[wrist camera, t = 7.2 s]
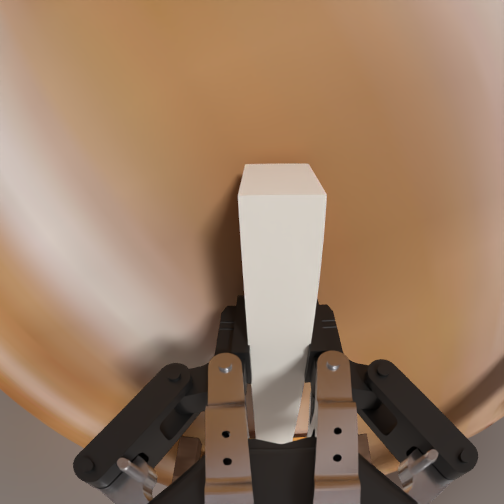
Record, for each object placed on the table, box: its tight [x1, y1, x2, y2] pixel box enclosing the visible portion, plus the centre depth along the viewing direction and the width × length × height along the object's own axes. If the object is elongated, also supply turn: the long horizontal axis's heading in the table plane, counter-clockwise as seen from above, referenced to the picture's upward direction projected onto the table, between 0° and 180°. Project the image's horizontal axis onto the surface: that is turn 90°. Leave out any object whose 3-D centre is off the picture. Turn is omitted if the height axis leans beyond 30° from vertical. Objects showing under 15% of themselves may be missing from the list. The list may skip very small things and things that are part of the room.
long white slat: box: [238, 164, 327, 444], centre depth 16 cm, size 8×26×4 cm, turn 2°
